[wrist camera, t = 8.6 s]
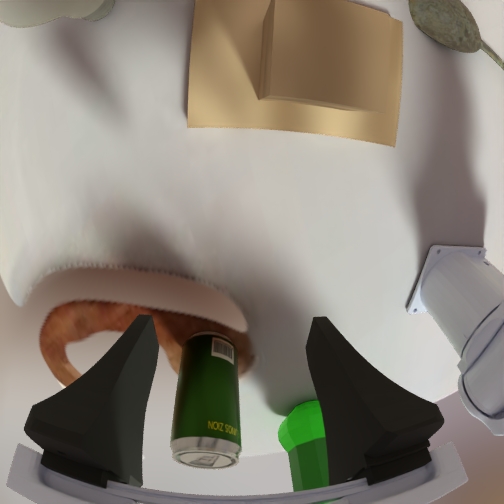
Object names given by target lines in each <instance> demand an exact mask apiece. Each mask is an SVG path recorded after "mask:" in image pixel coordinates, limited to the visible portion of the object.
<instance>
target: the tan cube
mask: <svg viewBox="0 0 504 504" xmlns="http://www.w3.org/2000/svg"><path fill="white" fill-rule="evenodd" d="M389 54H390V20H389V14H386V13H384V12H381V11H378V10H375V9H372V8H369V7H366V6H362V5H359V4H356V3H352V2H349V1H345V0H271V1H270V4H269V7H268V9H267V12H266V15H265V18H264V20H263V33H262V50H261V66H260V83H259V99H258V100H264V101H277V102H288V103H297V104H305V105H313V106H320V107H327V108H333V109H339V110H346V111H360V112H371V113H381V114H386V105H387V94H388V79H389Z"/></svg>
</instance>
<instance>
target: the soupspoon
mask: <svg viewBox="0 0 504 504" xmlns="http://www.w3.org/2000/svg"><path fill="white" fill-rule="evenodd" d="M409 8H410V13H411V16H412V19H413V21H414V23H415V25H416V26H417V27H418V28H419V29H421V30H422V31H423V32H424V33H426V34H427V35H428V36H430V37H431V38H433V39H435V40H436V41H438V42H439V43H441V44H443V45H445V46H447V47H449V48H451V49H454V50H457V51H460V52H465V53H474V52H477V51H478V50H479V49H480V48H481V49H482V50H483V51H484V52H486V53H487V54H488V55H489V56H490V57H491V58H492V59H493V60H494V61H495V62H496V63H497V64H498V65H499V66H500V67H501V68H502V69H503V70H504V62H503V61H502V60H501V59H500V58H499V57H498V56H497V55H496V54H495V53H494V52H493V51H492V50H491V49H490V48H489V47H488V46H487V45H486V44H485V43H484V42H483V41H482V40H481V37H480V32H479V29H478V26H477V24H476V21H475V19H474V18H473V16H472V14H471V13H470V11H469V10H468V8H467V7H466V6H465V5H464V4H463V3H462V2H461V1H460V0H409Z"/></svg>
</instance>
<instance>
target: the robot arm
mask: <svg viewBox="0 0 504 504" xmlns="http://www.w3.org/2000/svg"><path fill="white" fill-rule="evenodd" d="M437 250H438V251H437ZM486 252H487V250H486V249H485V248H483V247H464V246H443V245H433V246H432V247H431V248H430V250H429V253H428V256H427V259H426V262H425V265H424V267H423V270H422V273H421V276H420V278H419V281H418V283H417V286H416V288H415V291H414V293H413V296H412V298H411V301H410V303H409V305H408V308H407V313H408V314H416V313H424V312H429V314H430V315H431V316H432V318H433V319H434V320H435V322H436V323H437V324H438V326H439V327H440V329H441V330H442V331H443V333H444V334H445V336H446V337H447V339H448V340H449V341H450V343H451V344H452V346H453V347H454V349H455V350H456V352H457V353H458V355H459V356H460V358H461V360H460V362H459V363H458V365H457V366H458V368H459V370H460V371H461V375H460V377H459V379H458V389H459V395H460V398H461V401H462V403H463V405H464V407H465V408H466V409H467V410H468V412H469V413H470V414H471V415H473V416H474V417H475V418H477V419H479V420H480V421H482V422H483V423H484V424H485V425H486V426H487V427H488V428H489V429H490V431H491V432H492V433H493V435H496V436H501V435H504V275H503V274H502V273H501V272H500V271H499V270H498V269H497V268H496V267H495V266H493V265H492V264H491V263H490V262H489V261H488V260H487V259H485V255H486ZM158 352H159V344H158V340H157V335H156V331H155V327H154V322H153V318H152V315H140V314H139V315H138V316H137V317H136V319H135V320H134V321H133V322H132V324H131V325H130V326H129V327H128V328H127V330H126V331H125V332H124V333H123V335H122V336H121V337H120V338H119V339H118V340H117V342H116V343H115V344H114V345H113V346H112V347H111V348H110V349H109V351H108V352H107V353H106V354H105V355H104V356H103V357H102V358H101V359H100V360H99V361H98V362H97V363H96V364H95V365H94V366H93V367H92V368H90V369H89V370H88V371H87V372H86V373H85V374H83V375H82V376H81V377H80V378H78V379H77V380H76V381H74V382H73V383H72V384H70V385H69V386H67V387H66V388H64V389H63V390H61V391H60V392H58V393H56V394H55V395H53V396H51V397H49V398H48V399H45V400H44V401H41V402H39V403H37V404H35V405H33V406H32V409H31V411H30V413H29V416H28V418H27V421H26V424H25V427H24V431H25V433H26V434H27V435H28V436H29V437H30V438H31V439H32V440H33V441H34V442H35V443H37V444H38V445H39V446H40V447H41V448H42V449H44V452H43V455H42V454H40V453H39V452H37V451H35V450H32V449H30V448H28V447H26V446H24V445H22V444H20V443H19V444H18V445H17V449H16V451H15V455H14V458H13V461H12V465H11V468H10V472H9V476H8V480H7V487H9V488H11V489H12V490H14V491H16V492H17V493H19V494H21V495H22V496H24V497H26V498H28V499H30V500H31V501H33V502H35V503H37V504H139V503H143V504H320V503H325V504H429V503H431V502H433V501H435V500H437V499H439V498H440V497H442V496H444V495H446V494H447V493H449V492H451V491H452V490H454V489H456V488H458V487H459V486H461V485H463V484H464V483H466V482H467V481H468V478H467V475H466V472H465V470H464V467H463V465H462V462H461V460H460V457H459V455H458V452H457V450H456V448H455V445H454V443H453V441H451V442H449V443H446V444H444V445H442V446H440V447H438V448H436V449H434V450H432V451H431V452H429V451H428V448H427V447H429V446H430V443H429V440H428V439H429V438H430V437H431V436H432V435H433V434H435V433H436V432H437V431H438V430H439V429H440V428H441V427H442V425H443V424H444V418H443V416H442V414H441V412H440V410H439V408H438V406H437V405H436V404H434V403H432V402H429V401H427V400H425V399H422V398H420V397H418V396H416V395H414V394H413V393H411V392H409V391H407V390H405V389H404V388H402V387H400V386H399V385H397V384H396V383H394V382H393V381H391V380H390V379H389V378H387V377H386V376H384V375H383V374H382V373H381V372H379V371H378V370H377V369H376V368H374V367H373V366H372V365H371V364H370V363H369V362H368V361H367V360H366V359H365V358H363V357H362V356H361V355H360V354H359V353H358V352H357V351H356V350H355V349H354V347H353V346H352V345H351V344H350V343H349V342H348V341H347V340H346V339H345V338H344V337H343V335H342V334H341V333H340V332H339V331H338V330H337V328H336V327H335V326H334V325H333V324H332V323H331V321H330V320H329V319H328V318H327V317H313V321H312V325H311V329H310V333H309V336H308V340H307V344H306V354H307V360H308V366H309V370H310V373H311V377H312V380H313V384H314V387H315V390H316V394H317V397H318V400H319V404H320V408H321V412H322V417H323V424H324V430H325V438H326V446H327V457H328V472H329V486H328V487H322V488H317V489H311V490H304V491H297V492H289V493H280V494H268V495H252V496H251V495H249V496H213V495H195V494H183V493H173V492H166V491H159V490H152V489H147V488H141V486H142V485H143V480H142V446H143V431H144V420H145V412H146V407H147V401H148V398H149V394H150V390H151V386H152V381H153V378H154V374H155V370H156V366H157V359H158ZM335 500H336V501H335ZM330 501H333V502H330ZM137 502H138V503H137ZM326 502H329V503H326Z"/></svg>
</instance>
